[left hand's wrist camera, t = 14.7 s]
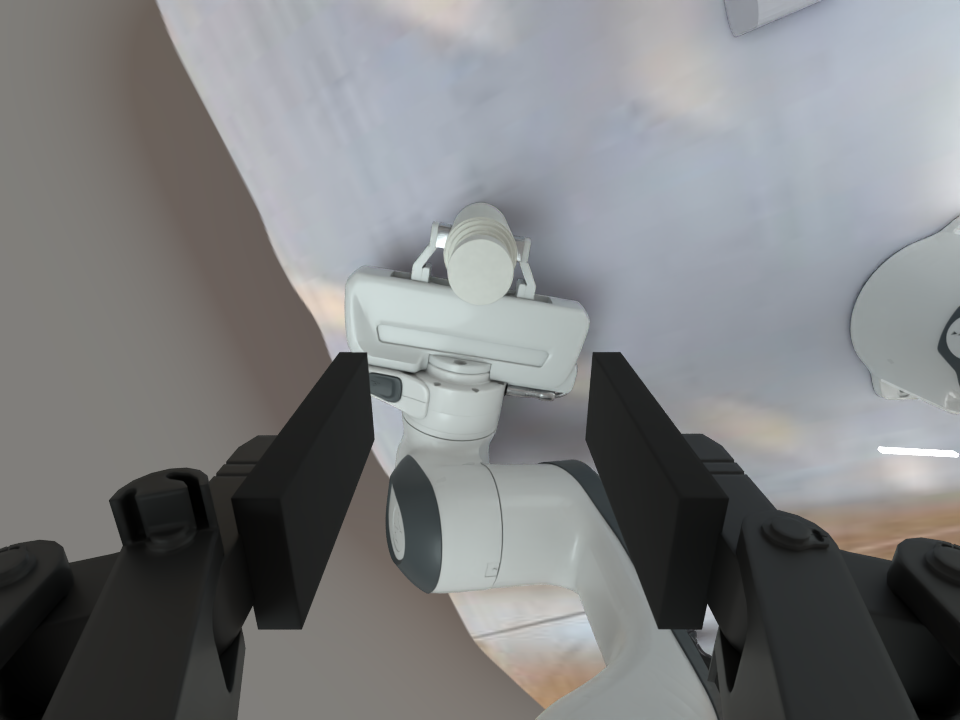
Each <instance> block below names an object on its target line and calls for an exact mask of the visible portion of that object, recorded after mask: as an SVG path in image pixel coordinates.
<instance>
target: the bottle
mask: <svg viewBox="0 0 960 720" xmlns="http://www.w3.org/2000/svg"><path fill="white" fill-rule="evenodd" d="M473 235H488V236H491V237H494V238H496V239H498V240H499V241H500V242H501V243H502V244H503V245H504V246H505V247H506V248H507V250H508V252H509V254H510V257H511V260H512V263H513V268H514V269H515V266H516V262H517V246H516V242H515V240H514V237H513V235H512V233H511V230H510V228H509V226H508V224H507V222H506V219H505V217H504V216H503V214H502V213H501V212H500V211H499V210H498V209H497V208H496V207H494V206H492V205H490V204H487V203H474V204H471V205H468V206H467V207H465V208H464V209H462V210H461V211H460V212H459V214H458V215H457V217H456V219H455V221H454V223H453V226H452V228H451V230H450V232H449V235H448V237H447V239H446V242H445V246H444V253H443V254H444V263H445V266H446V269H447V270H448V264H449V260H450V257H451V254H452V252H453V250H454V249H455V247H456V246H457V245H458V244H459V243H460V242H461V241H462V240H464V239H465V238H467V237H470V236H473Z"/></svg>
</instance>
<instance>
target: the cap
mask: <svg viewBox="0 0 960 720" xmlns="http://www.w3.org/2000/svg"><path fill="white" fill-rule="evenodd" d="M447 274H448V280H449V284H450V286H451V288H452V290H453V291H454V292H455V294H456V295H457V296H458V297H459V298H461V299H462V300H464V301H466V302H468V303H471V304H475V305H486V304H490V303H493V302H496V301H497V300H499V299H500V298H502V297H503V296H504V295H505V294H506V293H507V291H508V290H509V288H510V286H511V284H512V281H513V276H514V268H513V263H512V260H511V257H510V254H509V252H508V250H507V248H506V247H505V246H504V245H503V244H502V243H501V242H500V241H499V240H498V239H496V238H494V237H491V236H488V235H473V236H470V237H467V238H465V239H464V240H462V241H461V242H460V243H459V244H458V245H457V246H456V247H455V249H454V250H453V252H452V254H451V257H450V260H449V264H448V270H447Z"/></svg>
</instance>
